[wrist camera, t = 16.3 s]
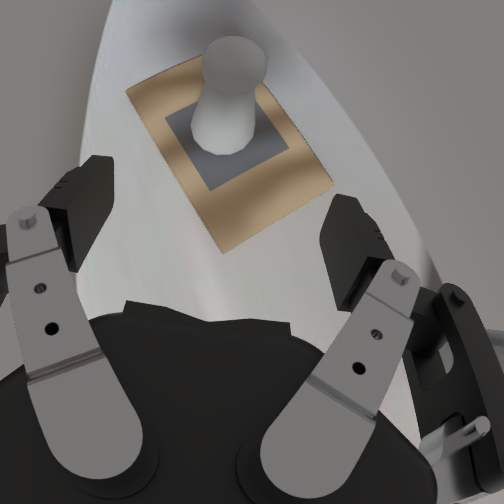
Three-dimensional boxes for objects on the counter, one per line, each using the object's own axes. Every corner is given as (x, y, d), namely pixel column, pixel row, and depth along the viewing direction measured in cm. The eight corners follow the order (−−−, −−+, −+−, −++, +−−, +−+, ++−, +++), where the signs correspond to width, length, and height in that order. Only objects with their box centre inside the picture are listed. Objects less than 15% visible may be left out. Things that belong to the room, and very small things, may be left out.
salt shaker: (198, 106, 30) (203, 15, 17) (254, 116, 31) (286, 31, 18) (185, 158, 29) (179, 78, 16) (245, 169, 30) (276, 96, 17)
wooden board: (332, 186, 32) (335, 185, 31) (222, 254, 30) (223, 253, 29) (230, 46, 32) (231, 43, 31) (126, 93, 29) (125, 90, 29)
